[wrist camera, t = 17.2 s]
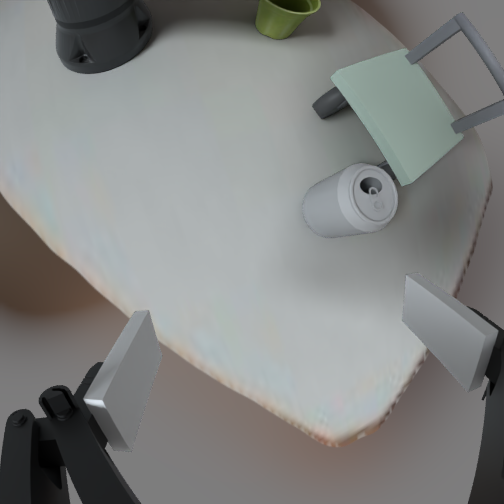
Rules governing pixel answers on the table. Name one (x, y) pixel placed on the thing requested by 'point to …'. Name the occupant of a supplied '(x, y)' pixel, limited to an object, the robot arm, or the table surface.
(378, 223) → the can
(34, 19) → the table surface
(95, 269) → the table surface
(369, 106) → the trolley
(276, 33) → the plant pot
